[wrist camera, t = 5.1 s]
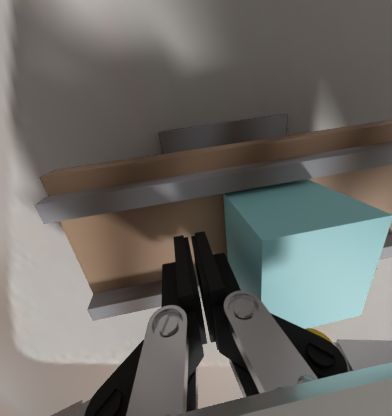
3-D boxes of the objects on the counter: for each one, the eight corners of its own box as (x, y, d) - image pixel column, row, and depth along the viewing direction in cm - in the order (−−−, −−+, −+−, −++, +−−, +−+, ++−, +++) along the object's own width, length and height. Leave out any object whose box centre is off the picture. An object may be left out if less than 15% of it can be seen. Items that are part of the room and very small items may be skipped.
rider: (305, 178, 12) (393, 215, 7) (297, 252, 14) (360, 315, 10) (223, 192, 11) (262, 240, 7) (228, 266, 14) (260, 339, 9)
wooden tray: (349, 105, 17) (467, 96, 10) (327, 228, 22) (398, 274, 15) (78, 143, 15) (12, 162, 8) (122, 268, 20) (102, 340, 13)
